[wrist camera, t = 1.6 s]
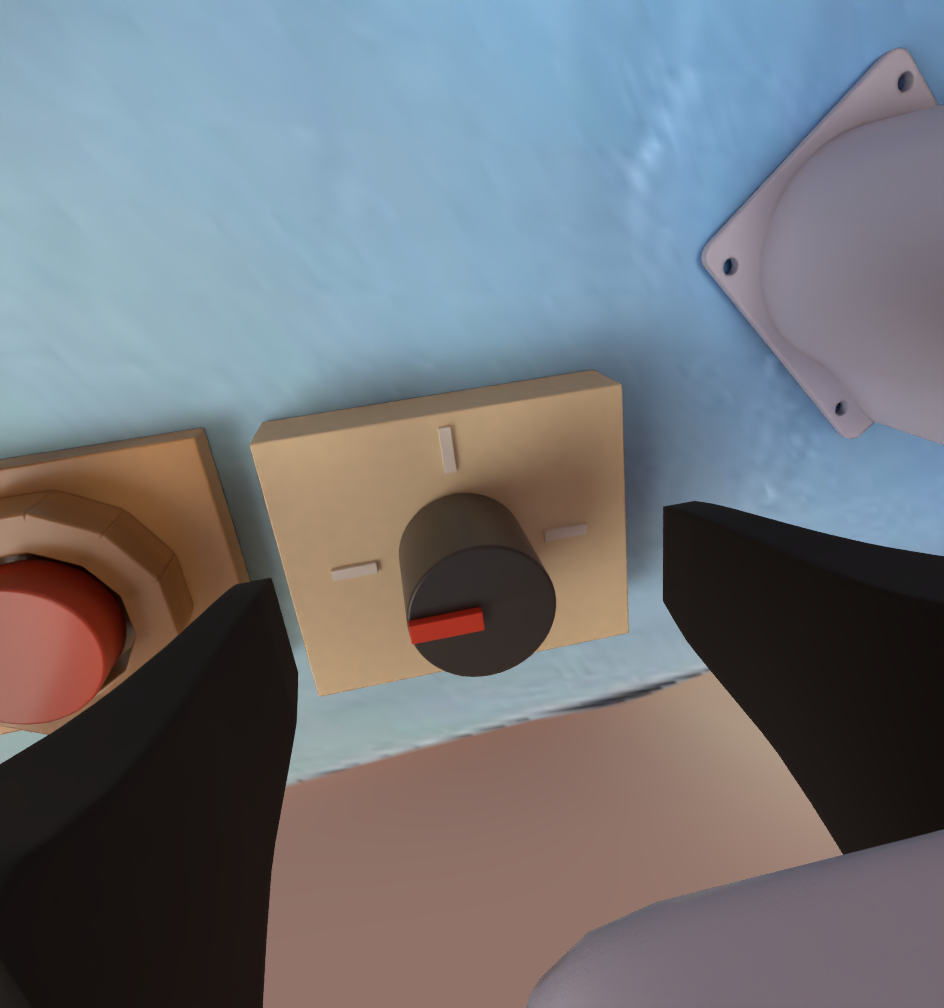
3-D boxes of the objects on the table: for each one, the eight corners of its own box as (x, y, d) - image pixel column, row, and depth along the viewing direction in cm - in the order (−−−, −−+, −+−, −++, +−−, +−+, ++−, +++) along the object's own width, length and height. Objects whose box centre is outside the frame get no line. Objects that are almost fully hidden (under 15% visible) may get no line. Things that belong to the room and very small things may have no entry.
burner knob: (517, 481, 19) (555, 537, 15) (528, 592, 21) (565, 668, 17) (388, 504, 19) (395, 567, 15) (409, 616, 20) (420, 698, 17)
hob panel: (593, 368, 21) (625, 384, 18) (604, 597, 24) (631, 636, 22) (261, 421, 20) (247, 446, 17) (322, 653, 23) (318, 700, 21)
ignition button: (97, 545, 18) (71, 574, 16) (147, 670, 19) (128, 707, 18) (-69, 574, 17) (-112, 607, 16) (-2, 699, 19) (-35, 740, 17)
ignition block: (204, 426, 20) (178, 455, 17) (274, 660, 23) (263, 715, 20) (-160, 484, 18) (-250, 525, 16) (-27, 720, 22) (-82, 787, 19)
